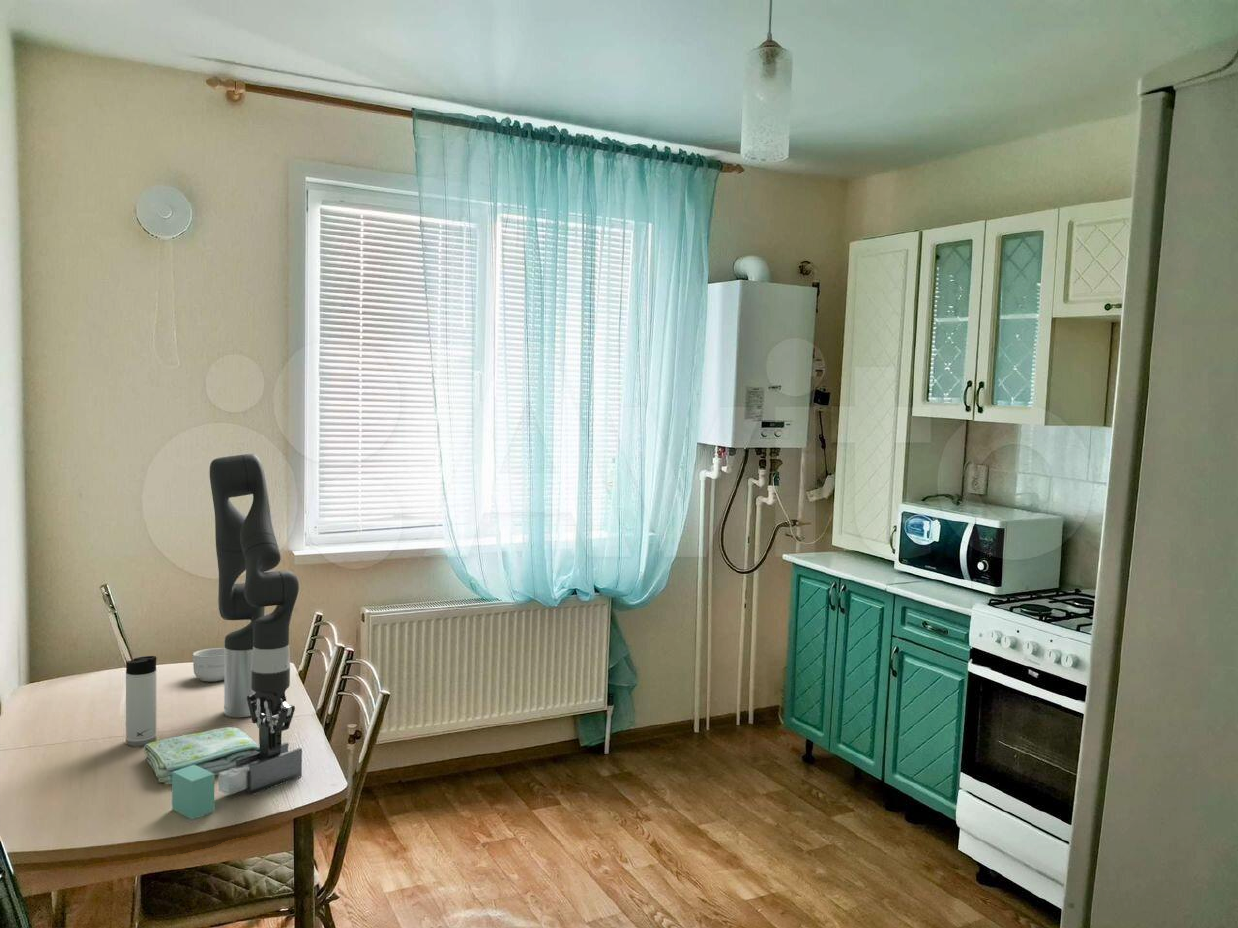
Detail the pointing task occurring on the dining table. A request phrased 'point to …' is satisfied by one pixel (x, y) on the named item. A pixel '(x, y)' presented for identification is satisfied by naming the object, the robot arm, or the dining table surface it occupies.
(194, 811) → the socket block
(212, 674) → the teacup
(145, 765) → the dining table surface
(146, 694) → the travel mug
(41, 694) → the dining table surface
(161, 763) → the towel
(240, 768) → the inner bar
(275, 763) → the sleeve
